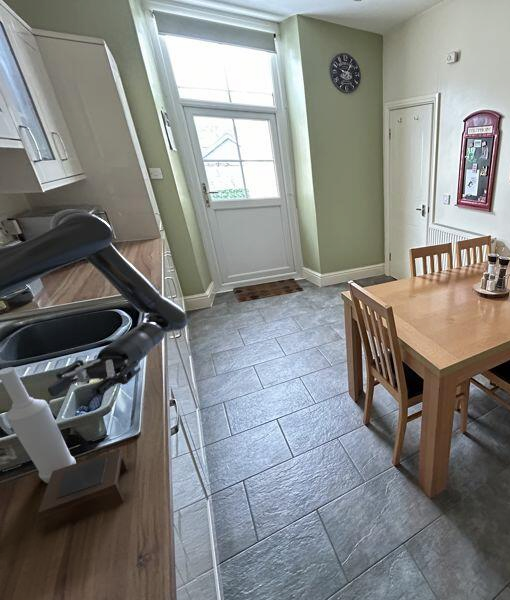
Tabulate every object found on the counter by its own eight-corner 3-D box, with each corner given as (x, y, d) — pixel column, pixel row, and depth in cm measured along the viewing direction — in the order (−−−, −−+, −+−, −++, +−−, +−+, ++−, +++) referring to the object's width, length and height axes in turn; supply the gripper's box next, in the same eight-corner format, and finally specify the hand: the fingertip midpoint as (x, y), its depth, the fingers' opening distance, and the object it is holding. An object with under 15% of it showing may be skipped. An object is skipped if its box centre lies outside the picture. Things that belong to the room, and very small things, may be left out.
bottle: (74, 477, 65) (21, 374, 55) (38, 488, 63) (-25, 383, 53) (80, 457, 69) (32, 359, 59) (46, 468, 67) (-10, 366, 57)
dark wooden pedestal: (49, 531, 56) (37, 511, 54) (62, 489, 63) (52, 470, 61) (123, 502, 61) (115, 483, 59) (127, 466, 68) (120, 448, 66)
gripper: (93, 337, 81) (28, 378, 66) (153, 338, 82) (102, 379, 67) (102, 362, 84) (43, 407, 69) (160, 363, 85) (114, 407, 70)
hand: (72, 393), depth 68 cm, fingers open, 8 cm apart
